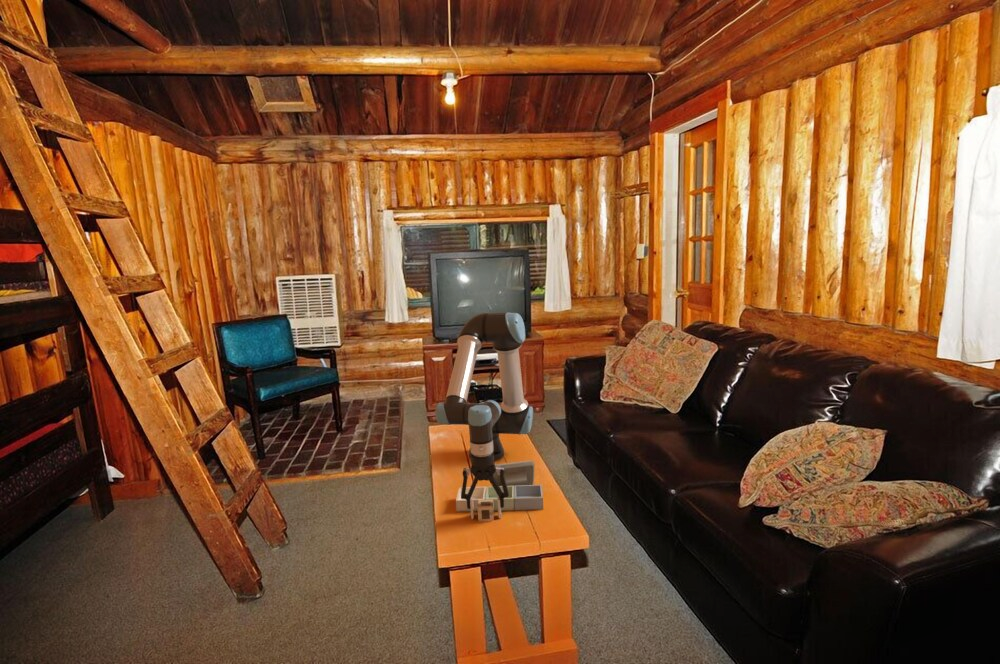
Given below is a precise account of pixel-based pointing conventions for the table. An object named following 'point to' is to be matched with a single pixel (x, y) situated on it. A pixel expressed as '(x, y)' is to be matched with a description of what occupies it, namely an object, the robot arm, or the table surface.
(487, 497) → the box
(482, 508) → the letter cube
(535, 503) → the box
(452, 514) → the table surface
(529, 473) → the digital clock
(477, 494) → the caddy cream
